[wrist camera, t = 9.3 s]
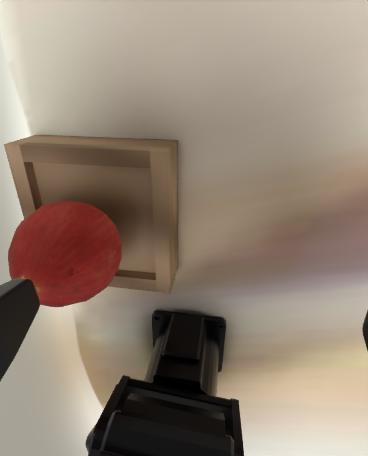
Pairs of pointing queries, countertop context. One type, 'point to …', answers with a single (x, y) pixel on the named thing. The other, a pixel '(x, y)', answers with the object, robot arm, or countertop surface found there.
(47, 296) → the onion
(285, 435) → the countertop surface
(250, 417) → the countertop surface
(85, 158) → the brown wooden tray
